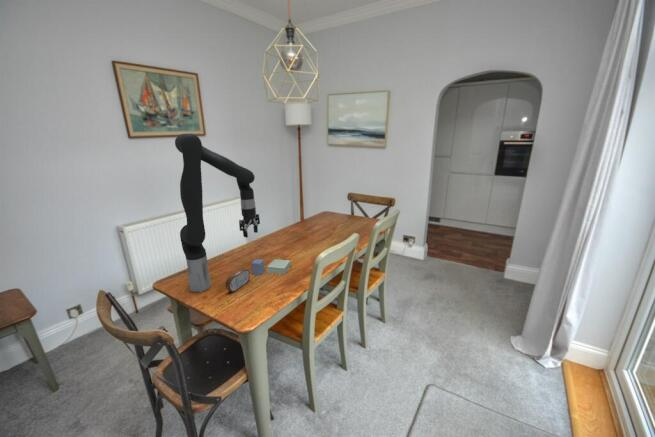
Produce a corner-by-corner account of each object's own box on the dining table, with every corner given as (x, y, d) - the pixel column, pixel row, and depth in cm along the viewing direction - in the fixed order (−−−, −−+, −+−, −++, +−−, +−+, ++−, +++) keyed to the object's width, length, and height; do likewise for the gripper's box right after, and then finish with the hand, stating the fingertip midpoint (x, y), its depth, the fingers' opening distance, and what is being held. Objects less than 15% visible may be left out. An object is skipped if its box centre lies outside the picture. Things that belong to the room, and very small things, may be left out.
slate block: (260, 275, 155) (259, 263, 153) (252, 274, 156) (251, 263, 154) (264, 271, 160) (263, 259, 158) (256, 270, 161) (255, 259, 159)
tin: (247, 279, 151) (245, 265, 148) (251, 280, 149) (250, 266, 147) (225, 293, 138) (223, 278, 135) (230, 295, 137) (228, 279, 134)
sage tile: (284, 274, 156) (284, 268, 154) (267, 273, 158) (267, 266, 157) (290, 266, 165) (290, 260, 164) (274, 265, 167) (274, 259, 166)
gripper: (244, 210, 146) (247, 240, 151) (261, 204, 158) (264, 231, 163) (233, 209, 149) (236, 238, 154) (251, 203, 161) (253, 230, 166)
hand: (251, 234), depth 158 cm, fingers open, 8 cm apart
